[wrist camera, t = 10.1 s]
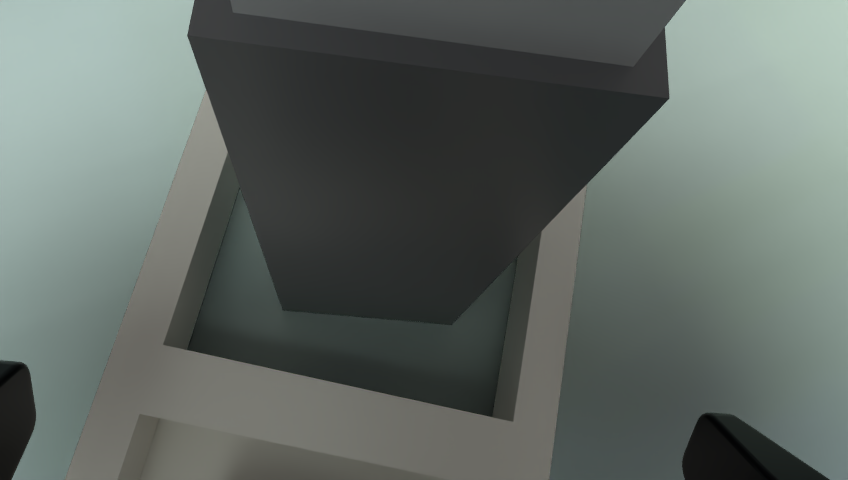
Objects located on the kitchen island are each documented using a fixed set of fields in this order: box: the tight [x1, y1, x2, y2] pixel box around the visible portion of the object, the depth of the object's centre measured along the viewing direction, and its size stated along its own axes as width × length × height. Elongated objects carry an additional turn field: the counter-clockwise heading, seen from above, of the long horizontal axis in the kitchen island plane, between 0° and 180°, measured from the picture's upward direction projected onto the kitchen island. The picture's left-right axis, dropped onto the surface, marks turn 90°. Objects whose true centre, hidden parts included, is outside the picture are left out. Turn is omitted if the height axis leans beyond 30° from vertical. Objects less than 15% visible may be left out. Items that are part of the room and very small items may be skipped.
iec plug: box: [187, 0, 686, 325], centre depth 12 cm, size 4×4×13 cm
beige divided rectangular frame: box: [65, 90, 587, 480], centre depth 15 cm, size 20×10×3 cm, turn 169°
